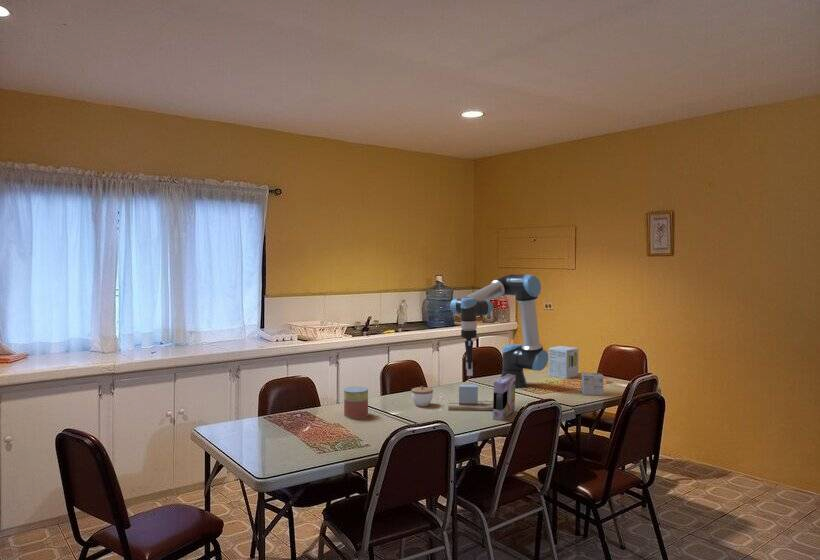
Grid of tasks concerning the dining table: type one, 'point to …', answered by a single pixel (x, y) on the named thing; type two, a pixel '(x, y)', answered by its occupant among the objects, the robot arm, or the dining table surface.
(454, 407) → the board
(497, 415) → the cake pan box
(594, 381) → the light bulb box
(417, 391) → the lidded jar
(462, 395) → the block
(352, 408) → the canned food
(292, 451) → the dining table surface
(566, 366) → the supplement box
